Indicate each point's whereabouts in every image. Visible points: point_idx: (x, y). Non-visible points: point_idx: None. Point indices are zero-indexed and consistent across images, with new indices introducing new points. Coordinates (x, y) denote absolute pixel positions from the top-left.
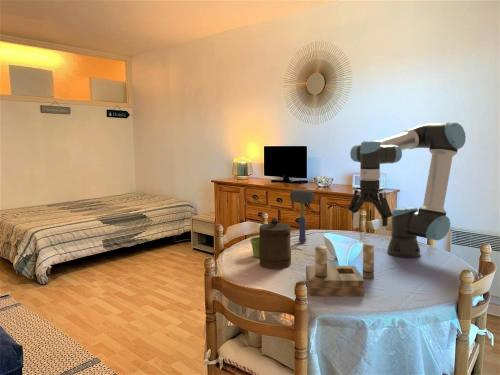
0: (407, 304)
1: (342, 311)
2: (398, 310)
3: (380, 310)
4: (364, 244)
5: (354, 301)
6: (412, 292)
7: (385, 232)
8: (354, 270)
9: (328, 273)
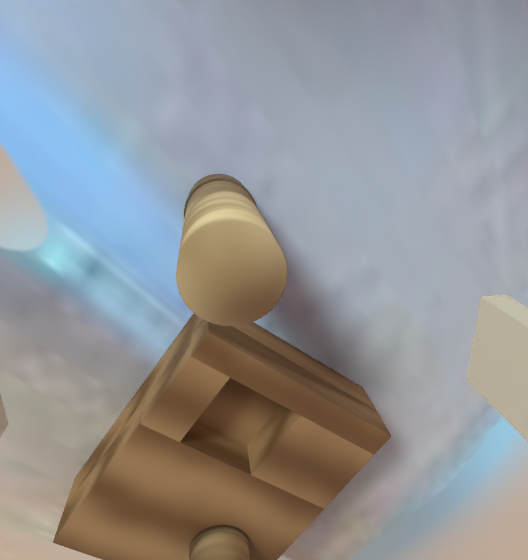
0: None
1: (390, 513)
2: None
3: (472, 418)
4: (198, 299)
5: None
6: (486, 183)
7: (516, 306)
8: (265, 386)
9: (217, 510)
